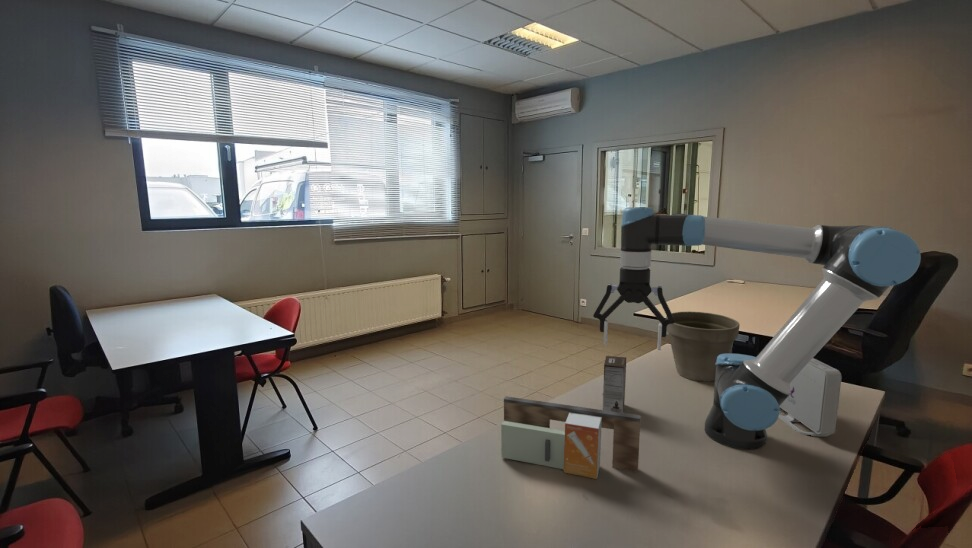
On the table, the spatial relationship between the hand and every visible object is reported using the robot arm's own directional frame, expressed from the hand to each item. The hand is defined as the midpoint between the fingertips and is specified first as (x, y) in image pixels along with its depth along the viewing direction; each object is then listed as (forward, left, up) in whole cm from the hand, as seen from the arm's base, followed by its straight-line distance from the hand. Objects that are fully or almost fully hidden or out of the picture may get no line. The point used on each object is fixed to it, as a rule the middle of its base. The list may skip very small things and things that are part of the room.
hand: (631, 346), depth 119 cm
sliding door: (+22, +20, -27) cm, 40 cm away
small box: (+10, +18, -27) cm, 34 cm away
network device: (-47, -28, -27) cm, 61 cm away
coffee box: (+5, -18, -27) cm, 33 cm away
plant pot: (-23, -58, -27) cm, 68 cm away
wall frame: (+14, +14, -27) cm, 33 cm away
